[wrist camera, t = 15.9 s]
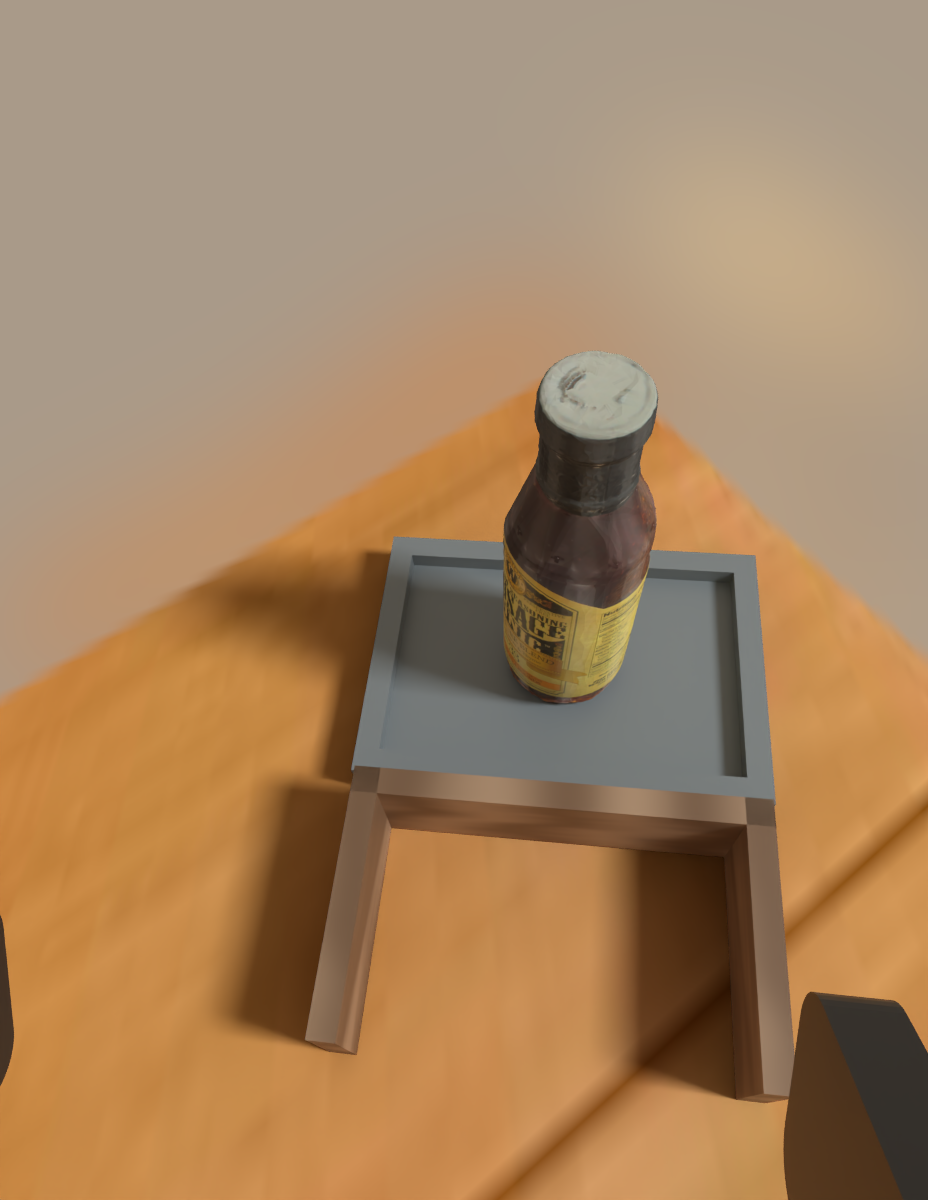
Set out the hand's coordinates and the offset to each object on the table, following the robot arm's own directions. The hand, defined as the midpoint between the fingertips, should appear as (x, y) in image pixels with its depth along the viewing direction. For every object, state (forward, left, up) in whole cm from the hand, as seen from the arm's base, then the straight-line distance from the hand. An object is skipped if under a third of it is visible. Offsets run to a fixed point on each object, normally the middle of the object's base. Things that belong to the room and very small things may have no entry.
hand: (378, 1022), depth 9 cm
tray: (+2, +21, -33) cm, 39 cm away
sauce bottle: (+2, +21, -32) cm, 38 cm away
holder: (+2, +7, -33) cm, 33 cm away
